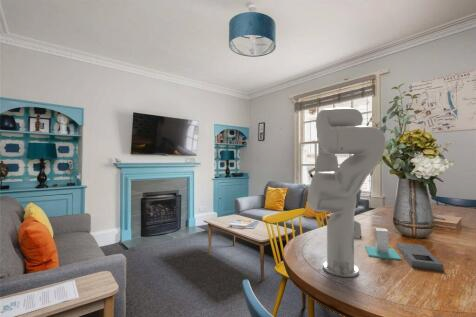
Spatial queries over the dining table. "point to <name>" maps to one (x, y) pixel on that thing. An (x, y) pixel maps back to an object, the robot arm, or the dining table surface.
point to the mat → (373, 253)
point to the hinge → (357, 229)
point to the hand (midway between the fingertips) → (326, 188)
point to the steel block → (381, 241)
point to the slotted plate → (419, 257)
